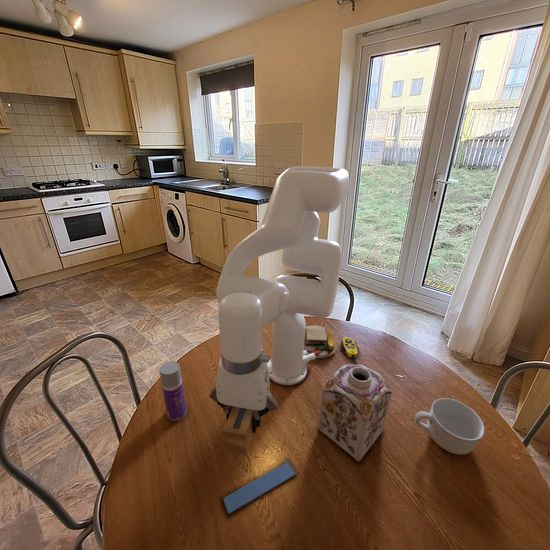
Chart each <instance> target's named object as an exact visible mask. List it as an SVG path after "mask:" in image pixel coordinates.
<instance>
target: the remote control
mask: <svg viewBox="0 0 550 550" xmlns="http://www.w3.org/2000/svg"><path fill="white" fill-rule="evenodd" d="M341 348H342V351H343V352H344V354H345V355H346V356H347V357H348V358H351V359H353V362H354V365H358V362H357V360H356V358H357V357H358V353H359V347H358V344H357V343H356V342H355V341H354V340H353V338H352V337H342V341H341Z"/></svg>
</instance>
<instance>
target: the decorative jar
mask: <svg viewBox="0 0 550 550" xmlns="http://www.w3.org/2000/svg"><path fill="white" fill-rule="evenodd" d="M392 393H393V390H392V389H391V387H390V385H389V383H387V381H386V380H385V379H384V378H383V376H382V374H380V373H379V372H377V371H375V370H373V369H371V368H369V367H368V366H366V365H363V364H357V365H355V363H354V364H351V363H350V364H342V365H341V366H340V367H339V368H337V369H336V370H335V372H334V373H333V374H332V375H331V377H330V379H328V381H327V382H326V383H325V385H324V386H323V388H322V395H321V402H320V409H319V416H318V430H319V431H320V432H321V433H322V434H323V435H325V436H326V437H328V438H329V439H330V440H332V441H333V442H334V443H335V444H336V445H337V446H338V447H340V448H341V449H342V450H344V451H345V452H346V453H347V454H348V455H350V457H352V458H353V459H354V460H355V461H357V462H360V461H361V460H362V459H363V457H364V456H365V455H366V453H367V452H368V451H369V450H370V448H371V447H372V446H373V445H374V443H375V441H377V439H378V438H379V437H380V435H381V434H382V432H383V431H384V426H385V422H386V419H387V415H388V411H389V406H390V401H391V397H392Z"/></svg>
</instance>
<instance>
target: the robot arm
mask: <svg viewBox="0 0 550 550" xmlns="http://www.w3.org/2000/svg"><path fill="white" fill-rule="evenodd" d="M349 176H350V175H349V173H348V171H347V170H346V169H344V168H340V167H326V166H312V165H311V166H310V165H298V166H297V165H296V166H290V167H289V168H286V169H285V170H284V172H282V173H281V174H280V175H279V176H278V177H277V179H276V181H275V184H274V186H273V189H272V192H271V195H270V198H269V201H268V204H267V206H266V209H265V212H264V215H263V218H262V220H261V221H262V222H261V223H260V226H259V228H257V229H256V230H255V231H252V232H251V233H250V234H248V235H247V236H246V237H244V238H243V239H242V240H241V241H240V242H239V243H238V244H237V245H236V246H234V248H233V249H232V250H231V251H230V252H229V253H228V254H229V255H227V258H226V260H225V262H224V264H223V268H222V270H221V273H220V276H219V279H218V282H217V285H216V292H215V293H216V300H217V303H218V307H217V313H218V329H219V343H220V358H219V361H218V365H217V371H216V378H215V379H216V380H215V381H216V382H215V386H214V387H213V388H212V390H210V392H209V394H208V397H209V398H210V399H211V400H212V401H214V402H216V404H217V405H218V406H219V407H220V408H221V409H222V410H223V413H224V414H225V419H226V421H227V420H228V417H229V415H230V412H231V410H232V407H233V406H235V407H240V408H246V409H251V410H252V412H253V418H252V432H253V434H256V433H257V430H258V428H261V425H262V417H263V416H266V415H267V414H268V413H269V412H273V411H276V410H278V407H279V402H278V401H277V399H276V398H275V397H274V396H273V394H272V393H271V383H270V380H271V381H273V382H274V383H276V384H279V385H284V386H293V385H296V384H300V383H301V382H303V380H305V378H306V377H307V374H308V366H307V364H308V362H309V361H313V360H316V359H317V358H316V356H315V354H314V353H312V354H309V355H307V351H306V350H305V351H304V340H305V327H306V326H307V325H306V319H305V316H309V317H313V318H314V317H315V318H319V319H326V318H328V317H330V315H332V313H333V309H334V306H335V303H336V296H337V291H338V285H339V281H340V275H341V269H342V264H343V250H342V246H341V245H340V244H339V243H338V242H336V241H333V240H329V239H321V238H319V231H320V226H321V219H320V216H319V214H318V213H321V214H322V213H323V214H324V213H325V214H329V213H334V212H335V211H336V210H337V209H338V208H339V207H340V206H341V204H342V203H343V202H344V201H345V199H346V198H347V196H348V193H349V189H350V177H349ZM280 250H283V251H282V259H281V261H282V265H283V267H284V268H286V269H288V270H289V271H294V272H298V273H304V274H309V275H315V276H318V277H319V278H320V280H319V279H318V280H317V279H313V278H307V277H302V276H296V275H291V274H282V275H278V276H275V278H273V279H272V280H271V279H265V278H261V277H257V276H253V275H246V274H244V273H245V270H246V269H247V267H248V266H249V265H250V264H251V263H252V262H253V261H254V260H256V259H257V258H259V257H261V256H264V255H266V254H270V253H273V252H277V251H280ZM304 315H305V316H304ZM270 323H271V357H270V355H269V354H267V353H265V352H264V347H263V329H264V328H265V327H266V326H267V325H270Z"/></svg>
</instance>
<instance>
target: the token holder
mask: <svg viewBox="0 0 550 550" xmlns="http://www.w3.org/2000/svg"><path fill="white" fill-rule="evenodd" d="M252 418H253V412H252V410H251V409H246V408H240V407H235V406H233V407H232V410H231V412H230V415H229V417H228V420H226V422H225V425H224V427H223V430H222V434H223V448H224V449H223V450H224V452H225V453H229V454H235V455H239V456H243V457H247V454H248V452H249V448H250V444H251V440H252V437H253V434H254V433H253V432H252Z"/></svg>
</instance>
